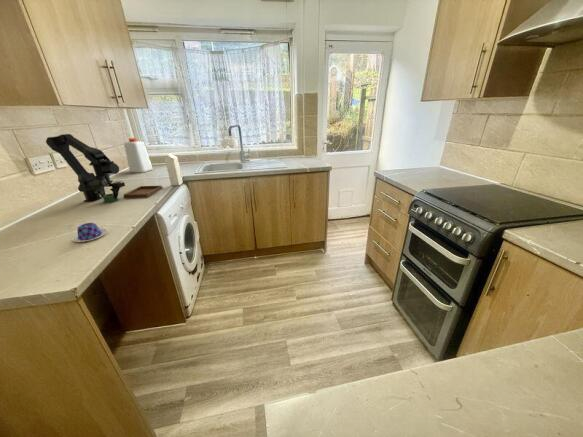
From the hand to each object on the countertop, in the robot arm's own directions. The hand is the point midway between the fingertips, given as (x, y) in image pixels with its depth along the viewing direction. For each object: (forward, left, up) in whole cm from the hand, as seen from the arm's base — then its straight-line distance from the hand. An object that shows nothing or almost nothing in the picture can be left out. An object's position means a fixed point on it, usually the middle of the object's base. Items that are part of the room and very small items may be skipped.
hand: (110, 199), depth 144 cm
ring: (0, 0, -1) cm, 1 cm away
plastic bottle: (-28, +81, -1) cm, 86 cm away
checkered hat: (+23, -46, -1) cm, 51 cm away
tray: (+12, +14, -1) cm, 18 cm away
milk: (+25, +33, -1) cm, 41 cm away
